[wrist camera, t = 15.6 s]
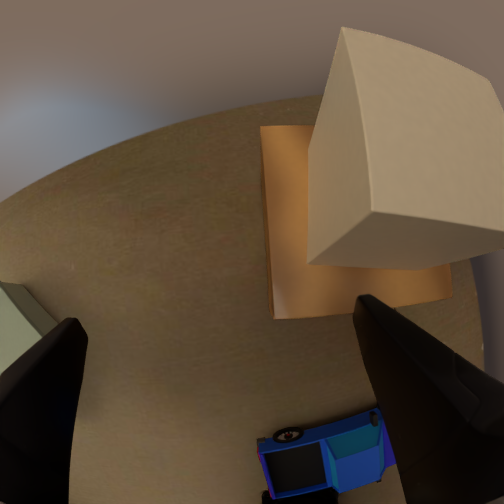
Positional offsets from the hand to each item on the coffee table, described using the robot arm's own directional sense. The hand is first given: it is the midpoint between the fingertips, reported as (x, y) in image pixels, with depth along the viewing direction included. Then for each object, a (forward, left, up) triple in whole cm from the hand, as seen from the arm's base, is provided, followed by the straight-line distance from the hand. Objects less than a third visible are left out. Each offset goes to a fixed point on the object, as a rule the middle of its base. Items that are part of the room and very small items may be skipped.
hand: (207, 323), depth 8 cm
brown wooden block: (-7, -5, -12) cm, 14 cm away
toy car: (-7, +11, -12) cm, 18 cm away
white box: (-7, -5, -5) cm, 10 cm away
